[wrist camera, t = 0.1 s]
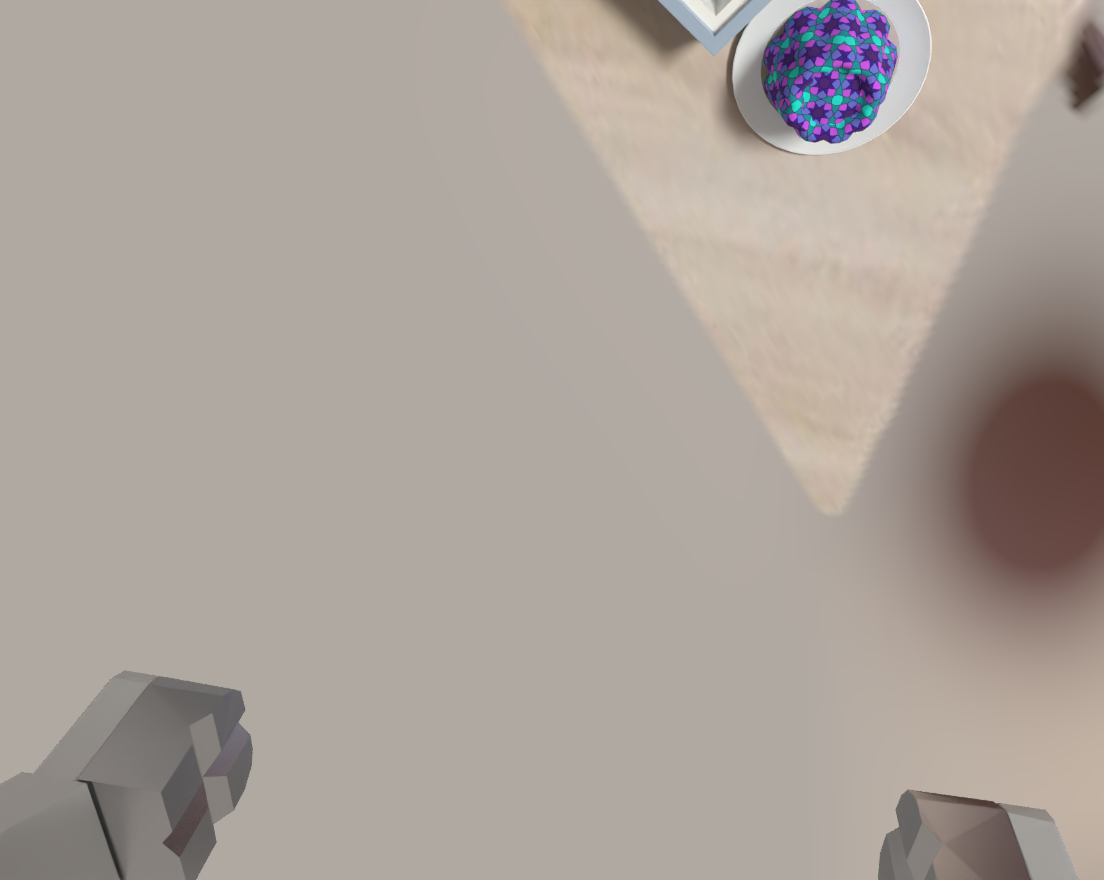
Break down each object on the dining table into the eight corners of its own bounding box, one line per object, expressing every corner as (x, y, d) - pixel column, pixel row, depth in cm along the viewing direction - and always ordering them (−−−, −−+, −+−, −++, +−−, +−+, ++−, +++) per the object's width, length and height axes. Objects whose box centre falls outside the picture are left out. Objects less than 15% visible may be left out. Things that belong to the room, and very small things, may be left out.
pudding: (958, -35, 49) (973, 2, 46) (898, 154, 58) (907, 197, 55) (747, -43, 51) (747, -8, 47) (720, 143, 60) (718, 184, 56)
